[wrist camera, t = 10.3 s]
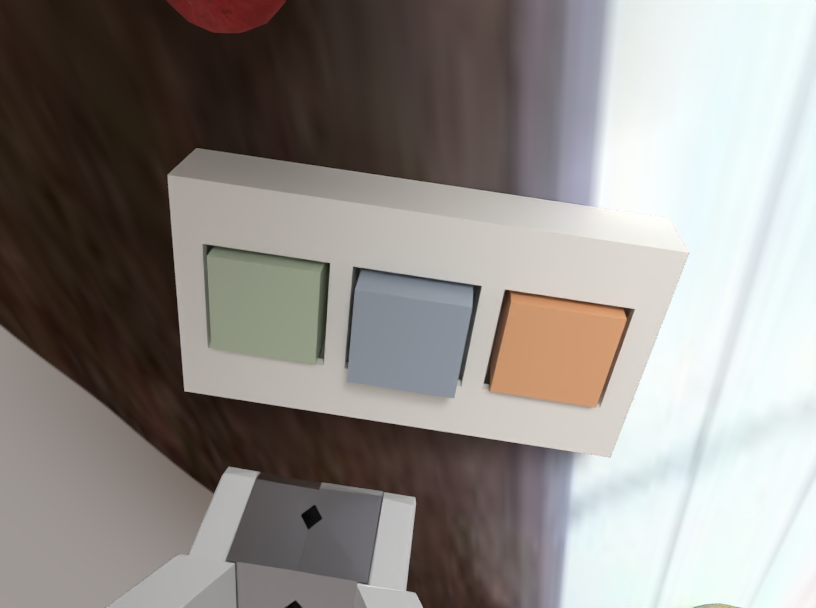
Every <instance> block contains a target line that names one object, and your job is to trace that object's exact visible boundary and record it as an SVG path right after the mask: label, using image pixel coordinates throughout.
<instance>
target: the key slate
mask: <svg viewBox="0 0 816 608" xmlns="http://www.w3.org/2000/svg"><path fill="white" fill-rule="evenodd" d="M472 307H473V285H472V284H466V283H459V282H452V281H446V280H439V279H433V278H426V277H419V276H413V275H406V274H400V273H393V272H386V271H380V270H373V269H366V268H362V269H361V272H360V275H359V278H358V281H357V285H356V288H355V294H354V305H353V317H352V328H351V340H350V351H349V362H348V374H347V382H352V383H358V384H365V385H371V386H378V387H384V388H391V389H397V390H403V391H410V392H416V393H423V394H429V395H436V396H442V397H449V398H454V397H455V392H456V387H457V382H458V377H459V372H460V367H461V362H462V357H463V352H464V347H465V342H466V337H467V332H468V327H469V322H470V317H471V312H472Z"/></svg>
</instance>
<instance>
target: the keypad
mask: <svg viewBox="0 0 816 608" xmlns="http://www.w3.org/2000/svg"><path fill="white" fill-rule="evenodd" d="M167 177H168V190H169V202H170V215H171V228H172V240H173V253H174V265H175V278H176V291H177V303H178V316H179V329H180V341H181V354H182V367H183V379H184V391H186V392H193V393H199V394H206V395H212V396H219V397H225V398H231V399H238V400H244V401H251V402H257V403H263V404H270V405H276V406H283V407H289V408H296V409H302V410H308V411H315V412H321V413H328V414H334V415H340V416H347V417H353V418H360V419H366V420H373V421H379V422H385V423H392V424H398V425H405V426H411V427H418V428H424V429H430V430H437V431H443V432H450V433H456V434H462V435H469V436H475V437H482V438H488V439H495V440H501V441H507V442H514V443H520V444H527V445H533V446H540V447H546V448H552V449H559V450H565V451H572V452H578V453H584V454H591V455H597V456H604V457H611V455H612V452H613V450H614V447H615V445H616V442H617V439H618V437H619V434H620V432H621V429H622V426H623V424H624V421H625V419H626V416H627V413H628V411H629V408H630V406H631V403H632V400H633V398H634V395H635V393H636V390H637V387H638V385H639V382H640V380H641V377H642V374H643V372H644V369H645V367H646V364H647V361H648V359H649V356H650V354H651V351H652V349H653V346H654V343H655V341H656V338H657V336H658V333H659V330H660V328H661V325H662V323H663V320H664V317H665V315H666V312H667V310H668V307H669V304H670V302H671V299H672V297H673V294H674V291H675V289H676V286H677V284H678V281H679V278H680V276H681V273H682V271H683V268H684V265H685V263H686V260H687V258H688V255H689V251H688V249H687V247H686V245H685V244H684V242H683V240H682V238H681V236H680V234H679V233H678V231H677V229H676V227H675V225H674V223H673V221H672V220H671V218H666V217H659V216H652V215H646V214H639V213H632V212H625V211H619V210H612V209H605V208H598V207H592V206H585V205H578V204H571V203H565V202H558V201H551V200H544V199H538V198H531V197H524V196H517V195H511V194H504V193H497V192H490V191H484V190H477V189H470V188H463V187H457V186H450V185H443V184H436V183H430V182H423V181H416V180H409V179H403V178H396V177H389V176H382V175H376V174H369V173H362V172H355V171H349V170H342V169H335V168H328V167H322V166H315V165H308V164H301V163H294V162H288V161H281V160H274V159H267V158H261V157H254V156H247V155H240V154H234V153H227V152H220V151H213V150H207V149H200V148H196V149H195V150H194V151H193V152H192V153H190V154H189V155H188V156H187V157H186V158H185V159H184V160H183V161H182V162H181V163H180V164H179V165H177V166H176V167H175V168H174V169H173V170H172V171H171V172H170V173H169V174H168V175H167ZM214 246H221V247H227V248H234V249H241V250H247V251H254V252H260V253H267V254H274V255H280V256H287V257H294V258H300V259H307V260H313V261H320V262H327V263H330V274H329V290H328V306H327V322H326V336H325V338H324V341H323V344H322V347H321V350H320V353H319V355H318V358H317V361H316V364H310V363H304V362H297V361H291V360H284V359H278V358H271V357H265V356H258V355H252V354H245V353H239V352H232V351H226V350H219V349H213V348H211V331H210V311H209V290H208V270H207V255H208V254H209V252H210V251H211V250H212V248H213V247H214ZM362 268H366V269H373V270H380V271H386V272H393V273H400V274H406V275H413V276H419V277H426V278H433V279H439V280H446V281H452V282H459V283H466V284H472V285H473V307H472V312H471V317H470V322H469V327H468V332H467V337H466V342H465V347H464V352H463V357H462V362H461V367H460V372H459V377H458V382H457V387H456V392H455V397H454V398H449V397H442V396H436V395H429V394H423V393H416V392H410V391H403V390H397V389H391V388H384V387H378V386H371V385H365V384H358V383H352V382H347V374H348V362H349V351H350V340H351V328H352V317H353V305H354V294H355V288H356V285H357V281H358V278H359V275H360V272H361V269H362ZM506 290H512V291H519V292H525V293H532V294H539V295H545V296H552V297H558V298H565V299H572V300H578V301H585V302H591V303H598V304H605V305H611V306H618V307H623V309H624V312H625V315H626V318H627V321H626V324H625V326H624V329H623V332H622V335H621V338H620V341H619V344H618V346H617V349H616V352H615V355H614V358H613V361H612V364H611V366H610V369H609V372H608V375H607V378H606V381H605V384H604V386H603V389H602V392H601V395H600V398H599V401H598V404H597V406H596V408H595V407H589V406H582V405H576V404H569V403H563V402H556V401H550V400H543V399H537V398H531V397H524V396H518V395H511V394H505V393H498V392H492V391H490V357H491V353H492V349H493V344H494V340H495V335H496V331H497V327H498V322H499V318H500V314H501V309H502V305H503V300H504V296H505V292H506Z"/></svg>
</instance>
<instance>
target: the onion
mask: <svg viewBox="0 0 816 608" xmlns="http://www.w3.org/2000/svg"><path fill="white" fill-rule="evenodd" d="M167 2H168V3H169V4H170V5H171V6H172V7H173V8H174V9H175V10H176V11H177V12H178V13H180V14H181V15H182V16H183V17H184V18H185V19H186V20H187V21H188V22H190V23H192V24H194V25H197V26H199V27H201V28H203V29H206V30H208V31H210V32H214V33H242V32H246V31H248V30H251V29H254V28H256V27H259V26H262V25H264V24H267V23H268V22H269V21H270V20H271V18H272V17H273V16H274V15H275V14H276V13H277V12H278V10H279V9H280V8H281V7H282V6H283V5H284V3H285V2H286V0H167Z"/></svg>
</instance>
